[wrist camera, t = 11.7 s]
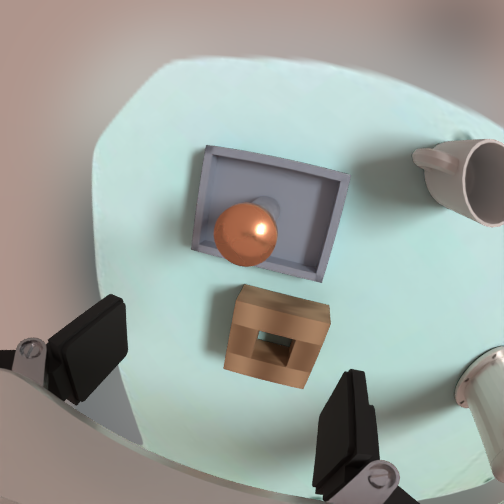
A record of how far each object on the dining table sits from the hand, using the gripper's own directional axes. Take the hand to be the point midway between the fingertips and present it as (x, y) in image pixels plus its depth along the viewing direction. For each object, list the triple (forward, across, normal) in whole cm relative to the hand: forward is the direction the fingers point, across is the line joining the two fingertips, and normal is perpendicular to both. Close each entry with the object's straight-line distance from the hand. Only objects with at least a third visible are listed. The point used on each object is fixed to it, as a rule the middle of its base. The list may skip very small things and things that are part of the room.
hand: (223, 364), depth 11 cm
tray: (+21, +2, -2) cm, 21 cm away
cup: (+21, -15, -11) cm, 28 cm away
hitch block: (+21, -2, +12) cm, 24 cm away
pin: (+20, +2, -2) cm, 20 cm away
